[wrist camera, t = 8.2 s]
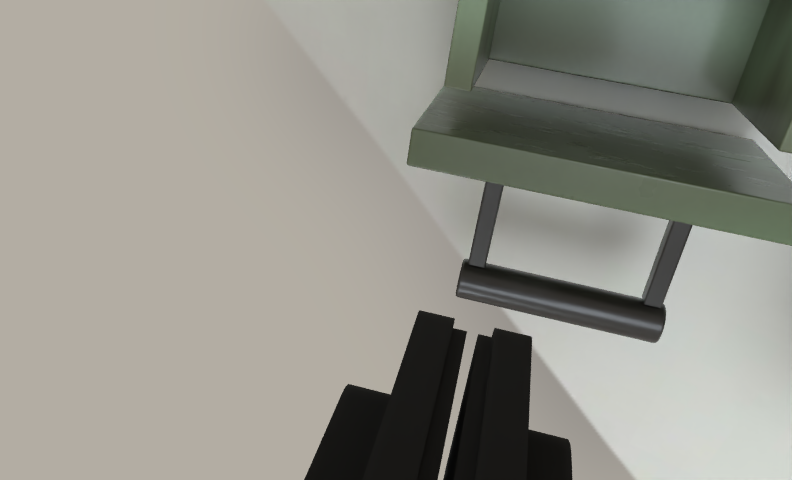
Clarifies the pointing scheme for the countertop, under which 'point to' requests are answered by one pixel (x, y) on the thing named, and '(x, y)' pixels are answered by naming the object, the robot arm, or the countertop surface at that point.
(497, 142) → the bin drawer
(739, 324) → the countertop surface
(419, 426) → the robot arm
